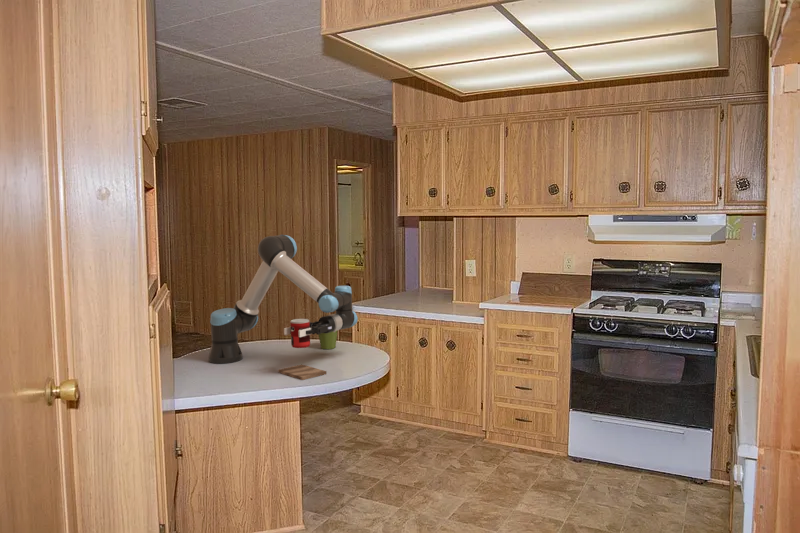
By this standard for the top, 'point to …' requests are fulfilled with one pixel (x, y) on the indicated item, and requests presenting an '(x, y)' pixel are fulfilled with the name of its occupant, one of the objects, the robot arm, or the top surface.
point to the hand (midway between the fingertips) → (291, 332)
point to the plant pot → (328, 340)
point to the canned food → (295, 327)
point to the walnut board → (302, 372)
